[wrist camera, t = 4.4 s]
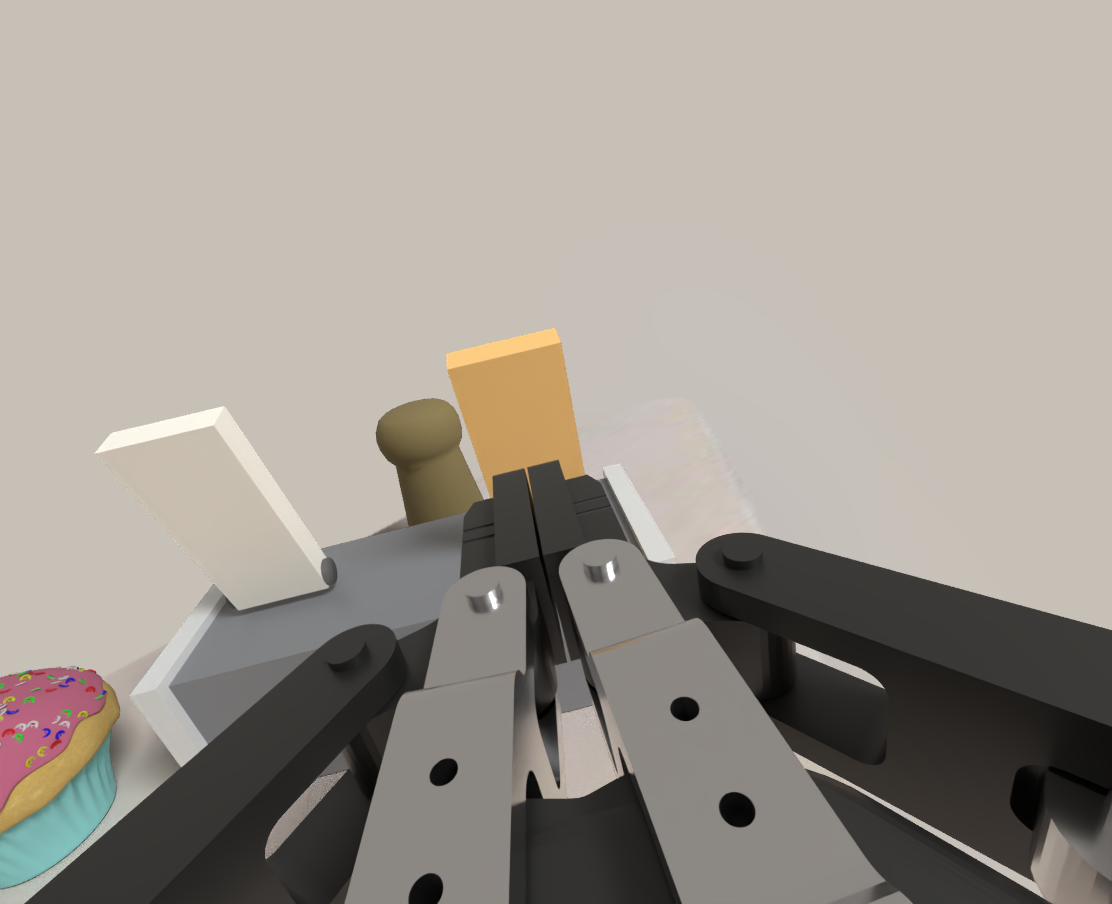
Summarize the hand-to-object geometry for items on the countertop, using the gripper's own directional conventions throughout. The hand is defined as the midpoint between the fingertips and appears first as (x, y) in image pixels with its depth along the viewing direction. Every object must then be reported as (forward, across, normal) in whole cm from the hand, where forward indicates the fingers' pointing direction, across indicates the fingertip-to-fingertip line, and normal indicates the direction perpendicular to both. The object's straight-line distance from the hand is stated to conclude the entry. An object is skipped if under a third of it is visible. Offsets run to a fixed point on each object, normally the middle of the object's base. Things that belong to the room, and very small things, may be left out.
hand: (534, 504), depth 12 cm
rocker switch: (+11, +12, +7) cm, 17 cm away
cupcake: (+8, +24, +14) cm, 29 cm away
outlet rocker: (+11, 0, +7) cm, 13 cm away
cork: (+22, +6, +14) cm, 27 cm away
